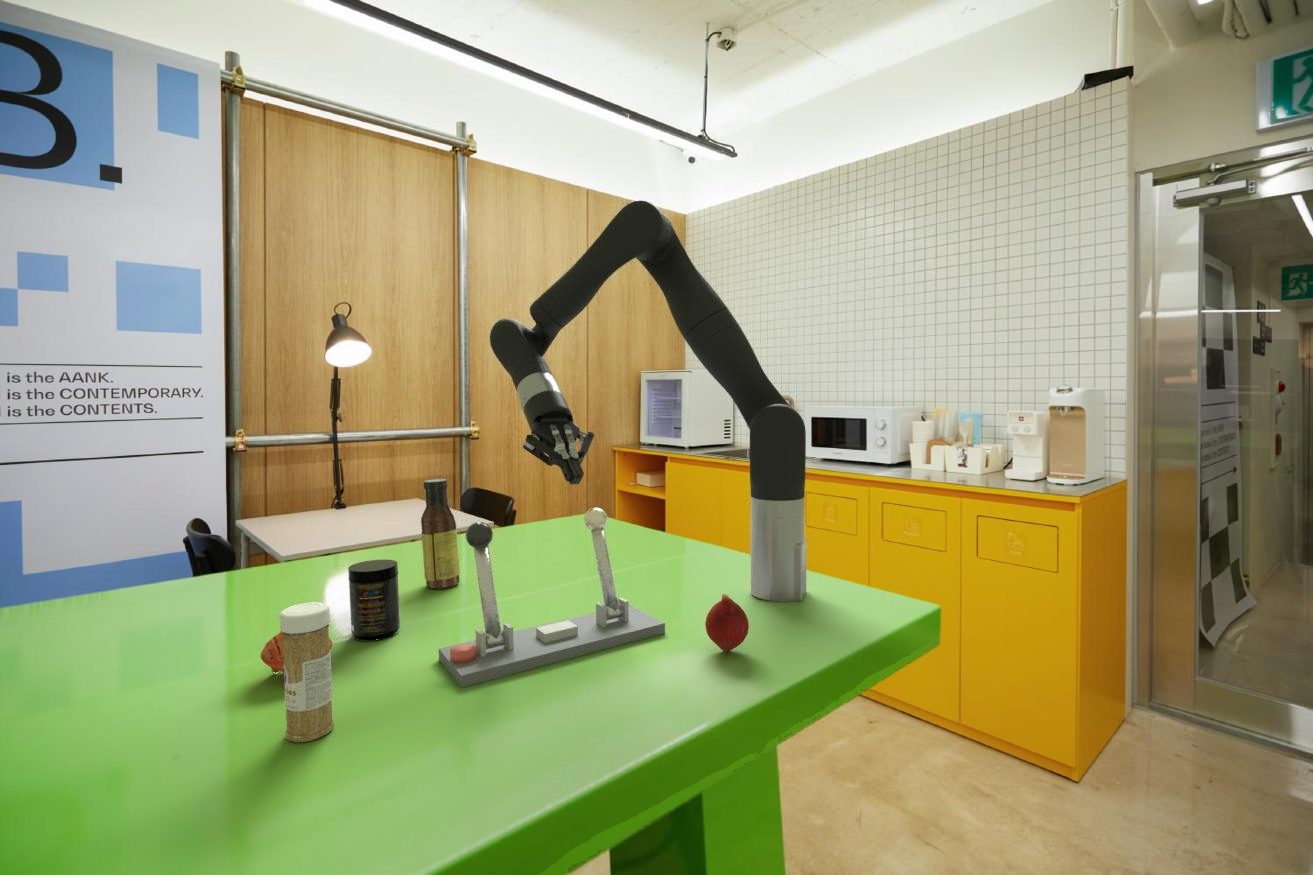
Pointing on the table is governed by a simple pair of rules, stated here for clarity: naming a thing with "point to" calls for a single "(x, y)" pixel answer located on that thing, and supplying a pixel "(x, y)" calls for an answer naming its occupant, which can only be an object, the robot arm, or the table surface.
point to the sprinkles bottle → (307, 671)
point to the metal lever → (603, 561)
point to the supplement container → (374, 599)
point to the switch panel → (546, 644)
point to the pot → (276, 653)
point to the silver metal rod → (486, 582)
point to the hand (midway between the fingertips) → (576, 481)
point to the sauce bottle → (439, 538)
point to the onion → (727, 624)
